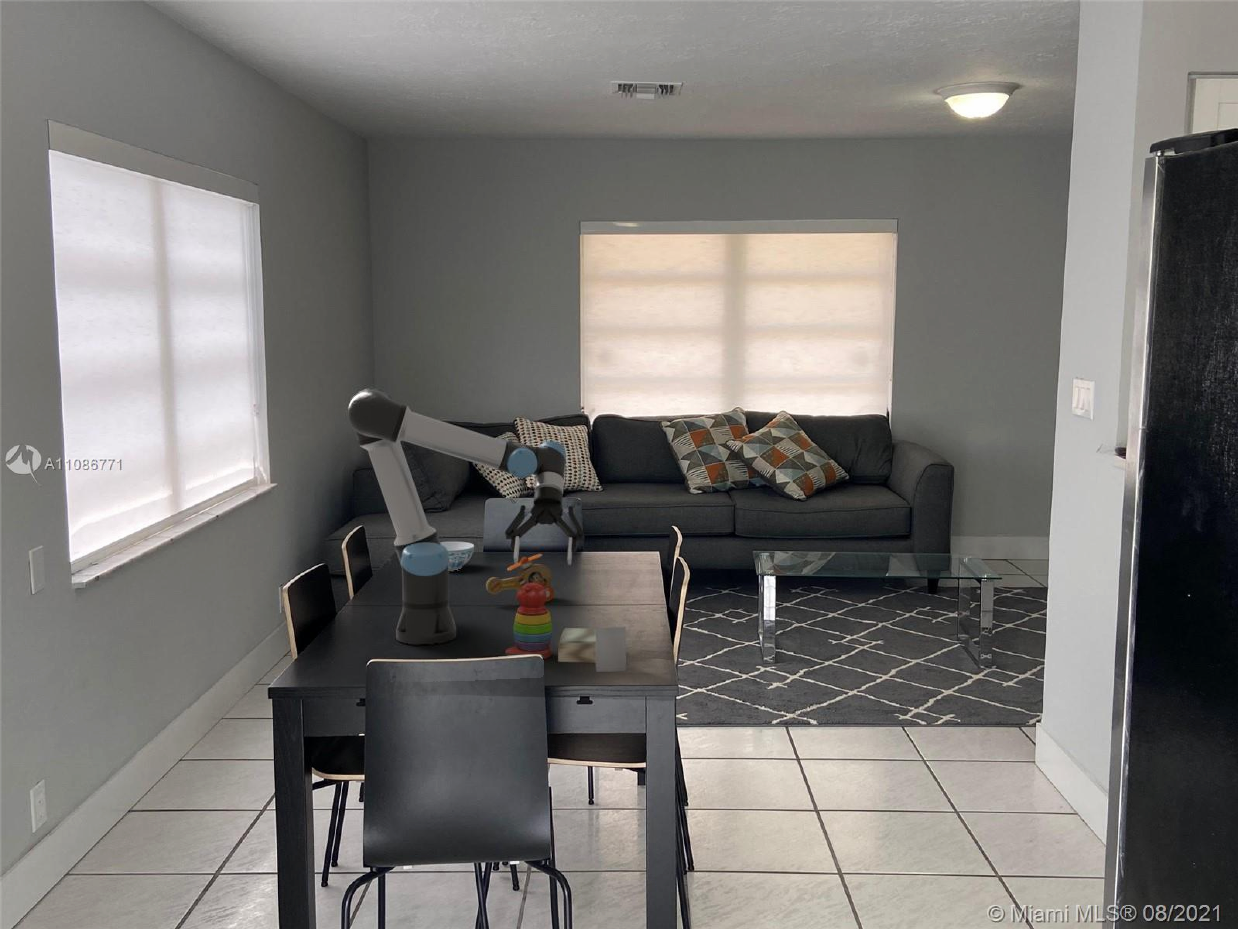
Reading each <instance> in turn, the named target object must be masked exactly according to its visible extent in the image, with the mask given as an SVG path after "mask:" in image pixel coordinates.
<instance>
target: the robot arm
mask: <svg viewBox="0 0 1238 929" xmlns="http://www.w3.org/2000/svg"><path fill="white" fill-rule="evenodd" d="M347 419H348V423H349V424H350V426H351V428H353V430H354V433H355V436H356V440H357V442H358V444H359V447H361V448H362V449H364V450H366V451H367V452H368V455H369V459H370V461H371V465H372V467H373V470H374V472H375V473H374V474H375V476H376V479H377V482H378V485H379V487H380V490H381V494H382V497H383V499H384V503H385V504H386V508H387V510H388V513H389V516H390V518H391V522H392V525H393V528H394V530H395V533H396V537H395V539H394V541H393V545H394V549H395V552H396V554H397V559H398V560H399V563H400V566H401V581H402V582H401V585H402V588H401V589H402V590H401V591H402V593H401V594H402V610H401V612H400V615H399V620H398V622H397V626H396V629H395V638H396V640H397V641H398V642H400V643H403V644H407V643H408V644H407V645H415V646H418V645H419V646H421V645H422V644H429V645H436V644H435V643H438V644H442V643H443V644H444V643H446V641H447V642H450V641H452V640H454V639H455V638H456V637H457V626H456V624H455V620H454V617H453V614H452V611H451V609H450V596H449V595H450V594H449V593H450V589H449V588H450V586H449V584H450V582H449V581H450V580H449V573H450V571H449V570H448V564H449V556H448V551H447V549H446V548H445V547H444V546H443V545H441V543H440V542H441V540H440V538H439V534H438V531H437V529H436V528H435V527H432V526H430V525H429V523H428V521H427V518H426V515H425V512H424V509H423V506H422V502H421V500H420V497H419V494H418V490H417V487H416V485H415V482H414V480H413V477H412V473H411V470H410V467H409V465H408V462H407V458H406V455H405V452H404V450H403V447H402V444H401V442H407V443H410V444H413V445H416V446H419V447H423V448H427V449H430V450H433V451H436V452H439V453H442V454H445V455H449V456H452V457H455V458H459V459H461V460H465V461H468V462H472V463H475V464H478V465H482V466H484V467H488V468H492V469H494V470H498V471H501V472H504V473H506V474H510V475H512V477H515V478H519V479H526V478H529V477H531V476H532V475H534V476H535V484H534V494H533V495H534V496H533V501H532V507H526V505H524V504H523V505H521V506H520V508H519V512H518V513H517V515H516V516H515V517H514V519H513V520H512V522H511V523H510V524H509V525H508V527H507V529H506V530H505V531H504V535H505V539H506V540H511V541H510V550H511V552H513V563H514V564H518V563H519V562H518V561H519V554H520V553H519V552H520V544H521V542H520V539H521V538H522V537H523V536H524V535H525V534H526V533H527V532H529V531H530V530H531V529H532V528H533V527H536V526H537V525H538V524H540V525H550V526H551V525H553V524H555V525H556V527H559V529H560V530H561V531H562V532H563V533H564V534H565V535H566V536H567V537H568V547H567V565H568V566H570V565H572V557H573V553H576V552H577V549H578V548H577V546H578V542H579V541H581V542H583V541H585V533H584V531H583V529H582V526H581V525H580V523H579V522H578V519H577V517H576V515H575V514H574V507H573V505H569V506H568V508H563V499H564V498H563V494H564V486H565V473H566V472H565V471H566V465H567V464H566V463H567V458H566V457H567V453H566V452H567V451H566V448H565V447H564V445H562V444H561V443H560V442H558V441H554V440H552V441H544V442H542V443H541V444H540V445H539V446H534V445H529V444H526V443H525V444H524V443H522V442H517V441H513V440H511V439H509V440H508V439H501V438H500V439H498V438H495V437H492V436H489V435H486V434H482V433H479V432H476V431H474V430H470V429H467V428H464V427H461V426H457V425H454V424H451V423H448V422H445V421H442V420H438V419H435V418H432V417H430V416H426V415H423V414H420V413H417V412H413V411H412V410H411V409H410V407H409V405H405V404H401V403H399V402H397V401H395V400H394V399H393V398H392V397H391V396H390V394H389V393H387V392H386V391H384V390H383V389H381V388H375V387H369V388H364V389H362V390H359V391H357V393H354V395H353V396H352V397H351V399H350V401H349V405H348V407H347ZM529 514H531V515H530V516H529ZM563 515H565V516H566V517H567V518H568V519H569V522H570V523H571V525H572V527H573V529H574V530H573V529H572V528H571V527H570V526H569V524H567V523H566V522H565V521H564V519H563V518H562V516H563ZM528 516H529V518H528V519H527V520H526V521H525V522H524V523H523V521H524V520H525V518H526V517H528ZM449 640H450V641H449ZM420 644H421V645H420ZM422 646H423V645H422Z"/></svg>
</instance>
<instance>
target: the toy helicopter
mask: <svg viewBox="0 0 1238 929" xmlns="http://www.w3.org/2000/svg"><path fill="white" fill-rule="evenodd" d="M542 556H543V554H542V553H538V554H535V555H532V556H530V557H526V556H523V557H522V558H521V559H520V561H519V562H518V564H515V563H514V564H512V565H510V566H509V567H507V569H506V570H507V572H508V571H510V572H511V571H513V570H514V569H517V568H519V567H520V568H521V569H522V570H521V571H520V572H518V575H516V576H514V577H509V578H503V579H501V578H499V577H494V576H493V577H490V578H488V580H487V581H486V583H485V589H486V591H487V592H488V593H489V594H491V595H498V594H500V593H501V592H502V591H505V590H507V591H509V590H510V591H511V590H516V591H517V593H518V592H519V591H520V589H521V588H522V587H523V586H524V585H526V584H528V583H537V582H541V583H542V585H543V587H544V589H545V591H546V601H545V603H548V602H550V601H551V600H552V599H553V598H554V597H555V596H554V595H555V590H554V588H553V587H552V586H551V584H552V579H553V577H552V571H551V569H550V568H549V567H548V566H547V565H544V564H539V563H534V564H533V561H535V560H536V559H539V558H541V557H542Z"/></svg>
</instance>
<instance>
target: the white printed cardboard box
mask: <svg viewBox="0 0 1238 929" xmlns="http://www.w3.org/2000/svg"><path fill="white" fill-rule="evenodd" d="M595 629H596V663H595V670H596V673H606V672H611V673H612V672H614V673H615V672H626V671H627V633H626V632H627V630H626V626H597V627H595Z"/></svg>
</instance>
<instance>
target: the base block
mask: <svg viewBox="0 0 1238 929" xmlns="http://www.w3.org/2000/svg"><path fill="white" fill-rule="evenodd" d="M557 662H558V663H595V664H596V628H579V627H578V628H571V627H565V628H564V629H563V631H562V633H561V634H560V638H559V640H558V643H557Z"/></svg>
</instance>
